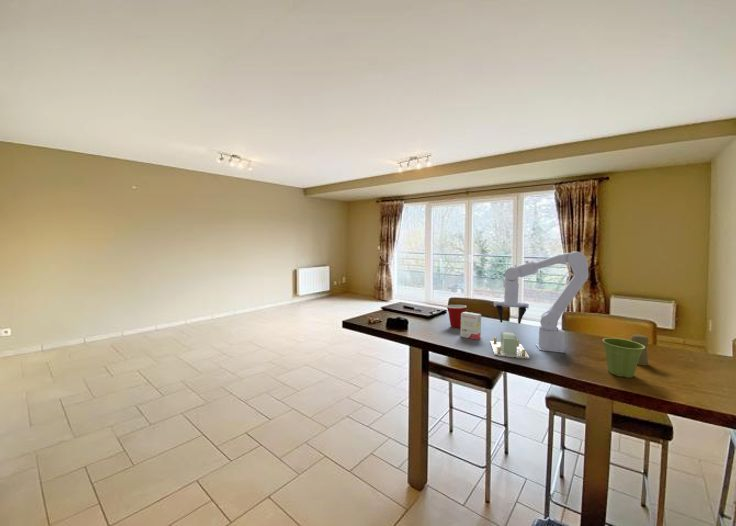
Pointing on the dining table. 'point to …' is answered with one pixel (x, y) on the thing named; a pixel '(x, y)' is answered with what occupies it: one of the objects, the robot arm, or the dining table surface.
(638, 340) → the grey upright block
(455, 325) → the plastic cup
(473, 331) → the ink box
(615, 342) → the plant pot
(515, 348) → the board block
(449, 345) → the dining table surface
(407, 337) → the dining table surface
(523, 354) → the chassis plate
